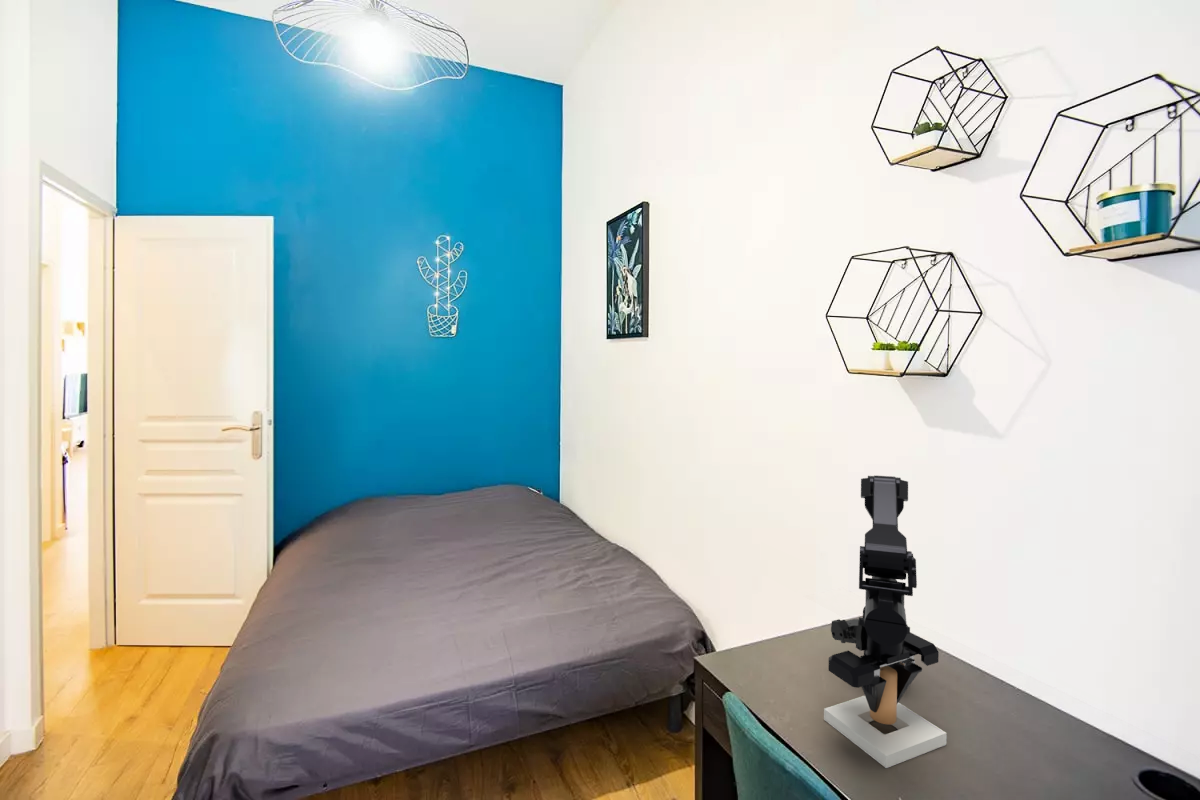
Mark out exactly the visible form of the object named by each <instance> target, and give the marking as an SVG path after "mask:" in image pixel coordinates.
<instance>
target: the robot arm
mask: <svg viewBox="0 0 1200 800" xmlns="http://www.w3.org/2000/svg"><path fill="white" fill-rule="evenodd" d="M860 498H861V499H864V508H865V509H866V512H867V514H868V515H869V517H870V518H871V520H872V528H870V529H869V530H867V531H866V532H865V534H864V545H861V546H859V574H858V589H859V590H865V606H864V607H863V609H862V617H861V616H859V617H858V618H854V619H849V620H846V619H842V620H841V619H839V618H838V619H835V620H831V625H830V633H831V636H832V638H833V639H834V640H835V641H839V642H840V643H841V644H846V643H848V644H855V649H857V650H859V651H861V652H862V651H863V655H861V656H859V655H857V654H855V653H854V652H852V651H851V650H845V651H842V652H837V653H834V654H832V655H831V656H829V657H828V672H830V673H831V674H832V675H834V676H836V677H837V678H839V679H840V680H842V681H843V682H845V683H846V684H848V685H849V686H851V687H853V688H857V689H858V688H862V691H863V695H864V696H865V697H866V699H867V702H868V705H869V708H870V709H871V710H872V711H873V712H877V710H878V708H879V705H880V702H881V698H882V695H883V691H884V688H885V685H886V680H885V679H883V678H881V677H880V670H881V668H880V667H884V666H889V667H891V668H893V669H895V670H896V671H897V703H898V702H899V703H900V700H901V699H902V697H903V695H904V694H905V693H906V691H907V690H908V688H909V687H910V685H911V684H912V683H913V682H914V680H915V679H916V677H917V676H918V675H919V673H921V672H923V666H920V665H918V664H916V660H915V656H916V655H919V656H920V662H921V663H923V664H924V665H925V666H927V667H928V666H931V665H935V664H938V663H939V654H940V652H939V650H938V648H937V647H936V646H935V644H934V643H933V642H931V641H929V640H926V639H925V638H922V637H920V636H919V635H917V634H914V633H912V632H911V627H910V626H908V623H907V616H906V615H907V614H906V608H905V596H907V597H908V596H909V597H914V596H913V593H914V592H913V591H914V590H913V589H917V587H918V586H917V585H918V584H917V583H918V582H917V580H918V579H917V558H915V557H914V553H913V552H912V551H911V550H910V551H909V550H908V543H907V541H908V540H907V537H906V536H905V535H904V534H903V533H902V532H901V531H900V530H899V522H898V521H899V516H900V515H901V513H902V512H903V510H904V507H905V505H904V502H908V501H909V481H907V480H903V479H901V477H897V476H890V475H889V476H887V475H867V477H864V478H860ZM864 574H865V575H867V577H865V578H864ZM869 576H870V577H871V578H870V577H869ZM864 579H865V580H864ZM906 579H907V582H903V580H904V581H905V580H906ZM897 580H900V581H897ZM901 581H902V582H901ZM906 583H907V584H906Z"/></svg>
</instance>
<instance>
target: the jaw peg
mask: <svg viewBox="0 0 1200 800" xmlns="http://www.w3.org/2000/svg"><path fill="white" fill-rule="evenodd" d="M880 668H881V670H880V677H881V678H883V679H885V680H886V685H885V688H884V691H883V695H882V698H881V702H880V705H879V708H878V710H877V712H873V711H872V710H871V709H870V716H871V718H872V719H873V720H874V722H876V723H878V724H883V725H891V724H894V723H895V722H896V718H897V671H896V670H895V669H893V668H891V667H889V666H884V667H880Z"/></svg>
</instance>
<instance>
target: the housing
mask: <svg viewBox="0 0 1200 800" xmlns="http://www.w3.org/2000/svg"><path fill="white" fill-rule="evenodd" d="M823 720H824V721H825V722H826V723H828V724H829V726H831V727H833V728H834V729H835V730H836V731H838V732H839V733H841V734H842V735H843V736H845V738H847V739H848V740H849V741H850V742H852V743H853V744H854V745H856V746H857V747H858V748H860V749H861V750H862V751H863V752H865V753H866V754H867V755H869V756H870V757H871V758H873V759H874V760H875V761H876V762H877V763H879V764H880V765H882V766H883V767H884V768H885V769H888V768H890V767H893V766H895V765H898V764H901V763H903V762H905V761H906V762H907V761H909V760H911V759H914V758H916V757H919V756H922V755H924V754H926V753H929V752H931V751H932V752H933V751H934V750H936V749H939V748H942V747H945V746H947V737H948V736H947V734H948V733H947V732H946V731H944V730H942V729H941V728H939V727H938V726H936V725H935V724H933V723H932V722H930V721H929V720H927V719H925V718H924V717H923V716H921V715H920V714H918V713H916V712H914V710H911V709H910V708H909V707H907V706H905V705H904V704H902V703H900V701H899V702H898V703H897V718H896V722H895V723H894V724H890V725H891V726H893V727H894V728H896V729H897V730H894V731H891V732H889V733H883V732H881V731H880V730H878V729H877V728H876V727H874V726H873V725H871V724H870V722H871V723H872V722H875V720H873V719H872V718H871V716H870V708H869V705H868V702H867V699H866V697H865V695H862V696H859V697H856V698H853V699H850V700H846V701H844V702H841V703H837V704H834V705H831V706H827V707H824V708H823Z"/></svg>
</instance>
